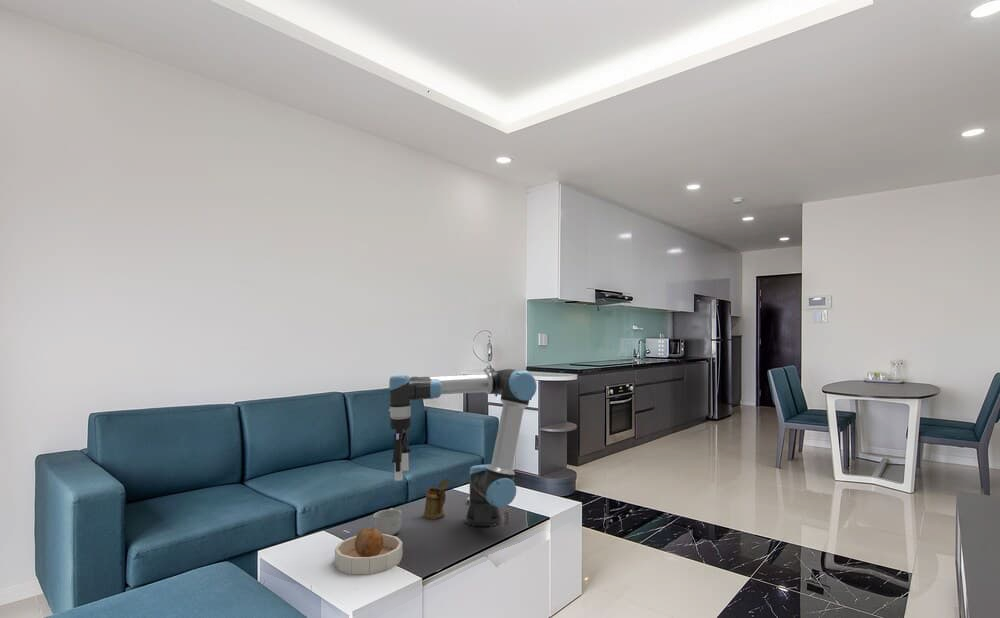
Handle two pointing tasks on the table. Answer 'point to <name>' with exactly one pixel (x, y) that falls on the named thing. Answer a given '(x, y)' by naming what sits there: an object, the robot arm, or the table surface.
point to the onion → (369, 542)
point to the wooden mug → (436, 501)
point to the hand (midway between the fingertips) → (401, 475)
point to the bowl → (356, 564)
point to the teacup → (387, 521)
